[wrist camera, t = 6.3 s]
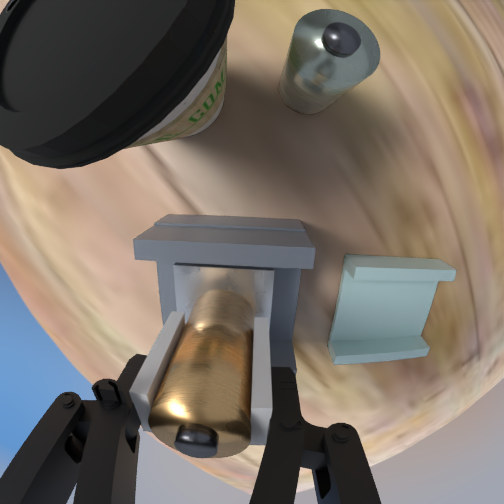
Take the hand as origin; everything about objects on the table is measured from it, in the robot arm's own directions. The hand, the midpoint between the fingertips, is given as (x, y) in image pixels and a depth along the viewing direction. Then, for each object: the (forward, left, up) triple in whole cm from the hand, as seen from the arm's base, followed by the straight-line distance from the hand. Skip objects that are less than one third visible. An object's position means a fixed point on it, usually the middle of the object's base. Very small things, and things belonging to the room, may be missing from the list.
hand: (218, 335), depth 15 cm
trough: (+2, +14, -7) cm, 16 cm away
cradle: (0, 0, -7) cm, 7 cm away
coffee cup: (-14, -4, -8) cm, 17 cm away
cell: (0, 0, -2) cm, 2 cm away
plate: (0, 0, -4) cm, 4 cm away
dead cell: (-15, +5, -7) cm, 18 cm away
